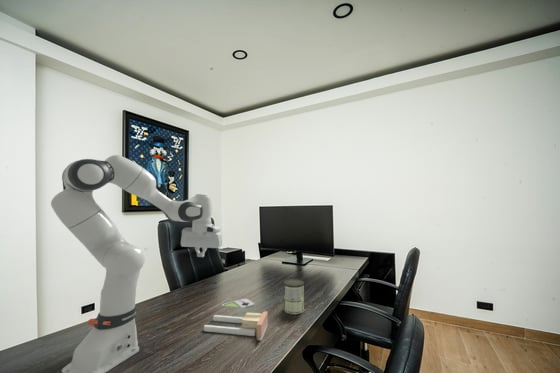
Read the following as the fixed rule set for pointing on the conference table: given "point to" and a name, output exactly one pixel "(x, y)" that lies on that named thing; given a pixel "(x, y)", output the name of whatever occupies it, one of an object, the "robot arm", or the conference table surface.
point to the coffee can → (293, 296)
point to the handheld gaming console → (240, 303)
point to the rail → (222, 329)
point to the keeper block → (251, 321)
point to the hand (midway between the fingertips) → (200, 256)
